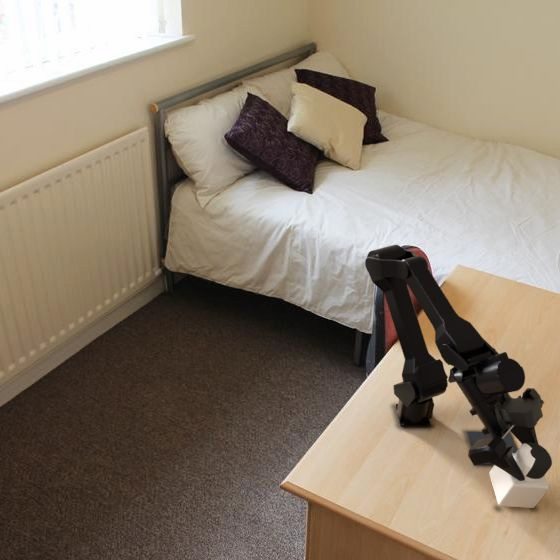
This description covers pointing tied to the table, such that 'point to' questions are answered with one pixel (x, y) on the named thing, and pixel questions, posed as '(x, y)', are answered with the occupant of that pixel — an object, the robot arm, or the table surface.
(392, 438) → the table surface
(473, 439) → the felt pad
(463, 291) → the table surface
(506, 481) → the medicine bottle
